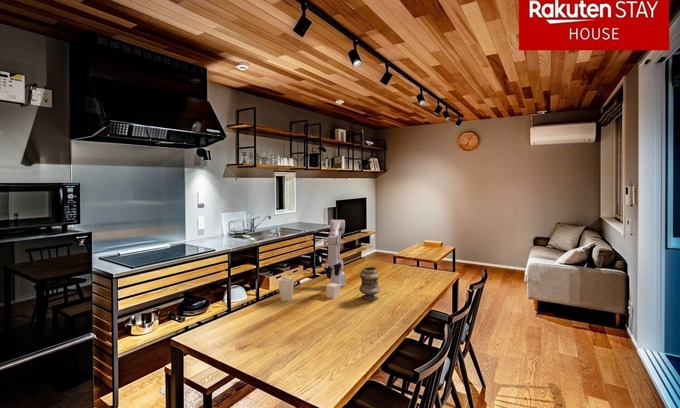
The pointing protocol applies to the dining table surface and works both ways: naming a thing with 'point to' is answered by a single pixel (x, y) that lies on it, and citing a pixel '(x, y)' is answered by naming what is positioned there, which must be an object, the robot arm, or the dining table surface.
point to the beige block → (333, 290)
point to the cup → (286, 288)
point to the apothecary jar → (369, 283)
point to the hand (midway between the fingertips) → (332, 277)
